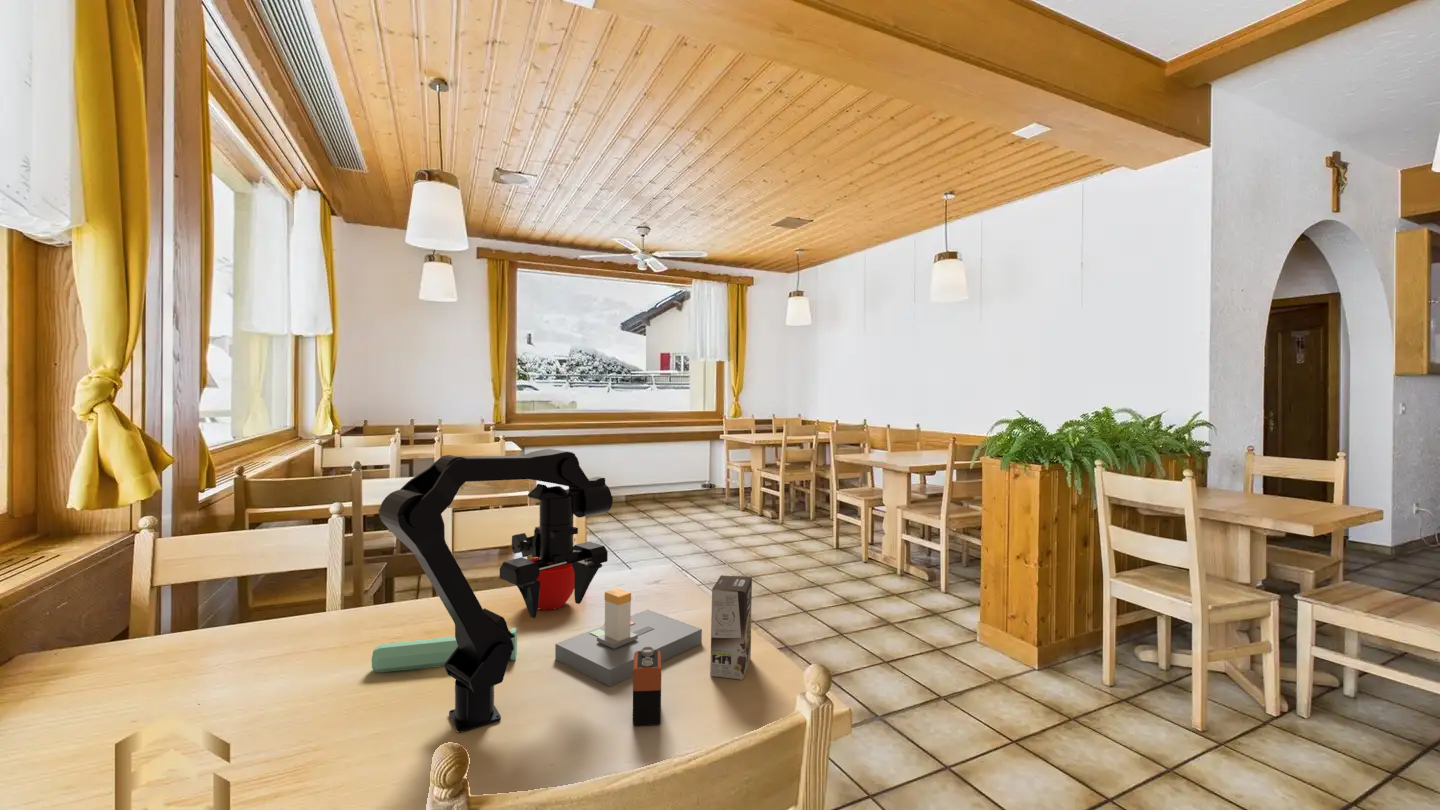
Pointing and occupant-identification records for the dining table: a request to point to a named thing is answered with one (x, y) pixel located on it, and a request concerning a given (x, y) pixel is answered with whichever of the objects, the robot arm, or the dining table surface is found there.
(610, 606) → the breaker handle
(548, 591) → the ceramic cup
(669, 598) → the dining table surface
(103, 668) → the dining table surface
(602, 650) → the panel
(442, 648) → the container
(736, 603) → the coffee box
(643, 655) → the battery
